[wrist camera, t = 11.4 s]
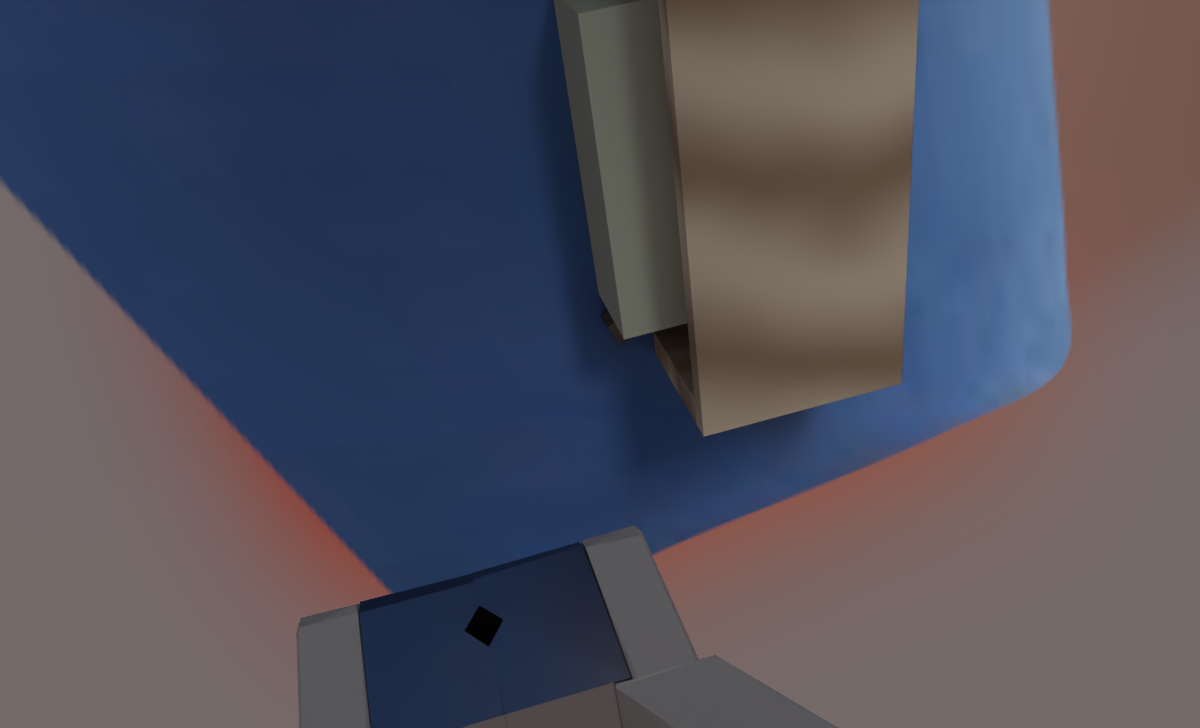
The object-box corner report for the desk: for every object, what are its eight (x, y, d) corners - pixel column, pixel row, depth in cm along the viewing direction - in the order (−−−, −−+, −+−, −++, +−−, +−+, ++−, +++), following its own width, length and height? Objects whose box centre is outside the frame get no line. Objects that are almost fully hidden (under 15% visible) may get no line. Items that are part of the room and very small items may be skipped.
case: (549, -17, 36) (578, 13, 33) (798, -69, 37) (850, -45, 34) (596, 289, 43) (623, 339, 39) (806, 236, 44) (849, 280, 41)
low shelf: (532, -163, 33) (579, -136, 28) (833, -217, 35) (927, -200, 30) (608, 365, 44) (651, 450, 39) (833, 308, 46) (901, 383, 41)
